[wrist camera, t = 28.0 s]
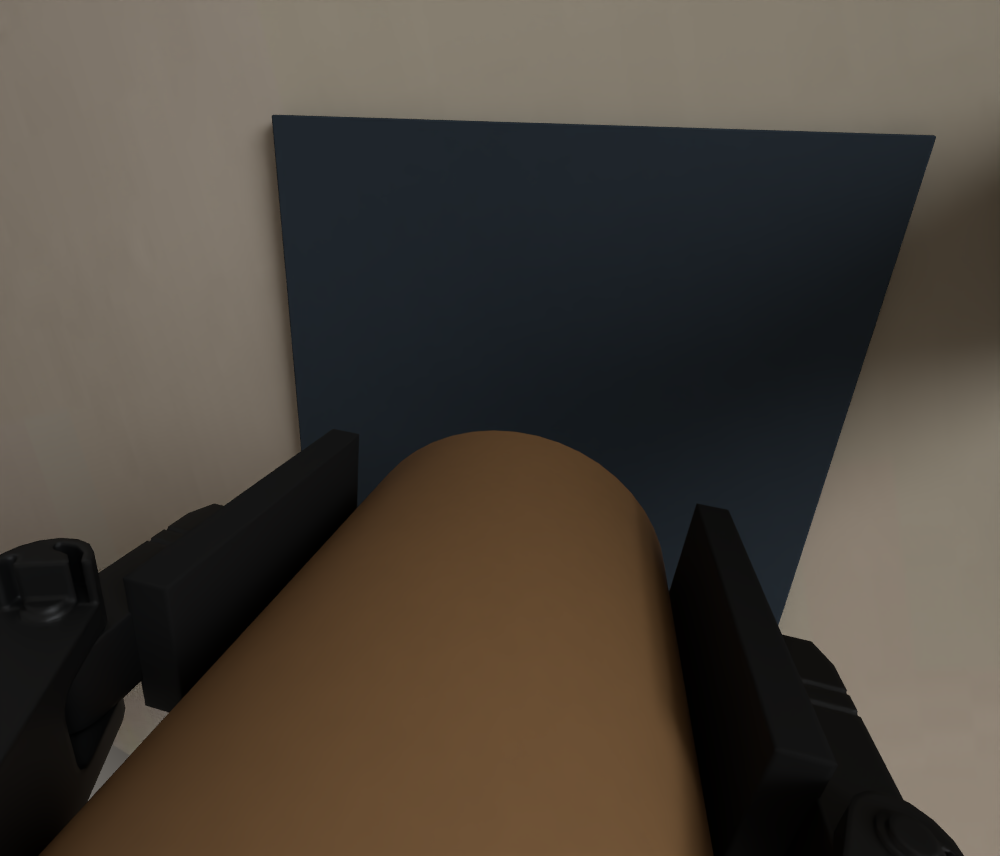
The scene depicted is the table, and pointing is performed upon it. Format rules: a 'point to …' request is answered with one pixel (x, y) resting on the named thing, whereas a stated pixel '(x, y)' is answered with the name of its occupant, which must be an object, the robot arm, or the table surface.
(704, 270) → the slate mat
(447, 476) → the paper roll
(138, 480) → the table surface
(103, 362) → the table surface
